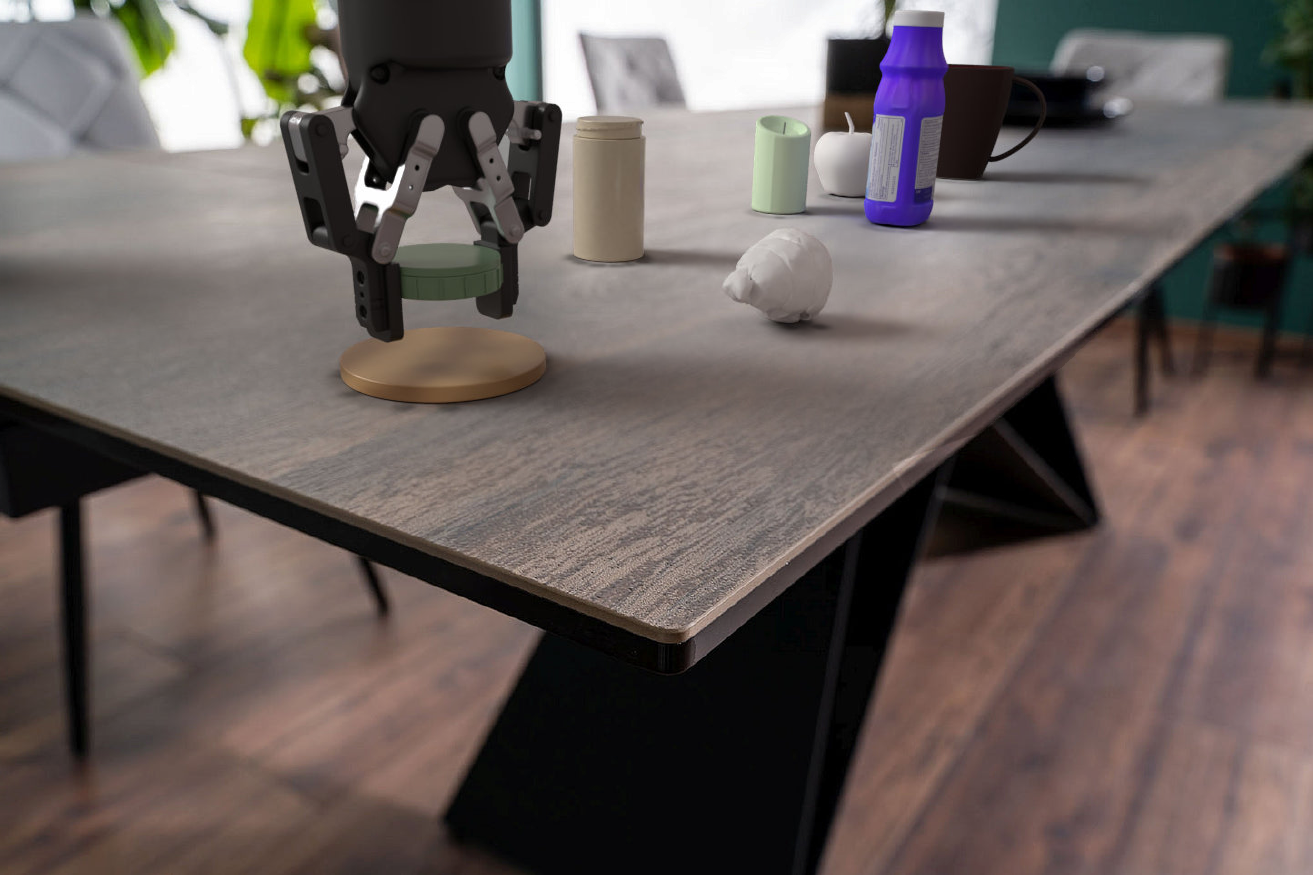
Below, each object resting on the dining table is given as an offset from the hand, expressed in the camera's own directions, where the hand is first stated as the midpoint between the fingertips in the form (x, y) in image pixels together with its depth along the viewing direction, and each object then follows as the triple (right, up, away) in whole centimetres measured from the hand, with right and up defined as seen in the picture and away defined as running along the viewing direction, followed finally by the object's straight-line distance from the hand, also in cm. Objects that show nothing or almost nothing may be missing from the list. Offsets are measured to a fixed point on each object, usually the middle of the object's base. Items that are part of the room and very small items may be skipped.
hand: (442, 325), depth 53 cm
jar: (+7, +8, +27) cm, 29 cm away
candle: (+22, +15, +47) cm, 54 cm away
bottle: (+32, +13, +43) cm, 55 cm away
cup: (+47, +24, +71) cm, 88 cm away
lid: (0, +3, -1) cm, 3 cm away
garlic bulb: (+17, +1, +10) cm, 20 cm away
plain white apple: (+30, +19, +57) cm, 67 cm away
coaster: (0, -2, +1) cm, 2 cm away
